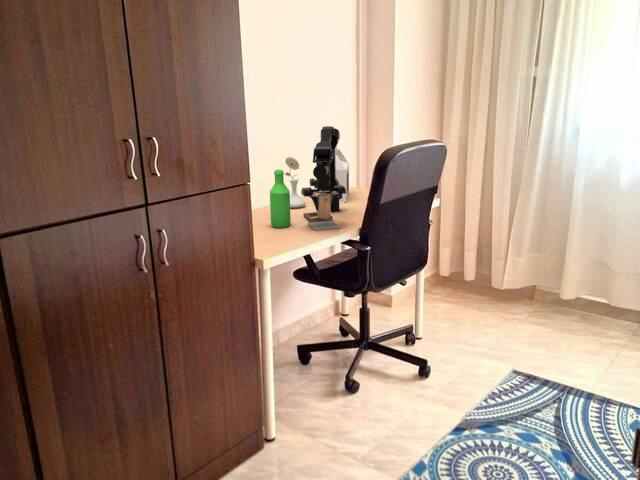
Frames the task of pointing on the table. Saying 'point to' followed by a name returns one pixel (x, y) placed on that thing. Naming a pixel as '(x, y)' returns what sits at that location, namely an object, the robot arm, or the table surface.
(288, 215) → the bottle
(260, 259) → the table surface
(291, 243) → the table surface
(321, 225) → the pad
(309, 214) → the holder
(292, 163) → the flower in vase
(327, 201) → the jug
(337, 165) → the gable box
